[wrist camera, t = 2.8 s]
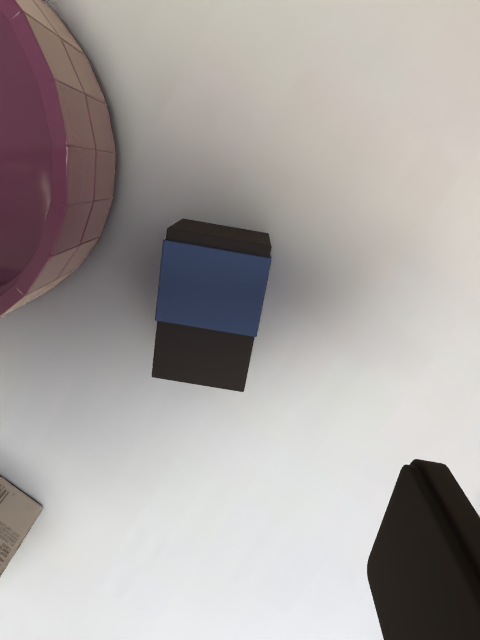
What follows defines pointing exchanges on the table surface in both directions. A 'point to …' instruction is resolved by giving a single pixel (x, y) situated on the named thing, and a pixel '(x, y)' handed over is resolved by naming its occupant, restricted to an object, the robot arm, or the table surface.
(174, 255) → the eraser
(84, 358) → the table surface
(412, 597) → the robot arm
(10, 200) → the bowl
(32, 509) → the coffee box
